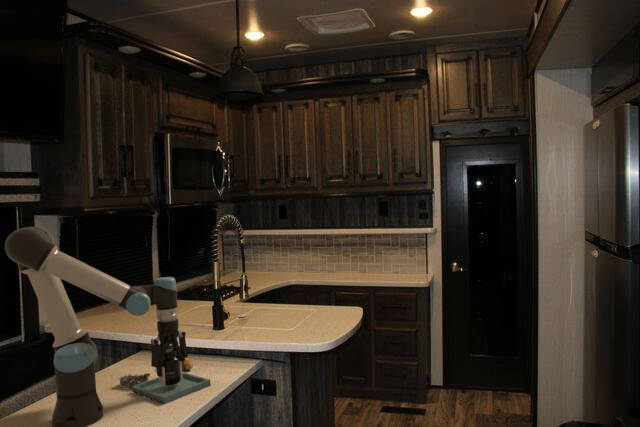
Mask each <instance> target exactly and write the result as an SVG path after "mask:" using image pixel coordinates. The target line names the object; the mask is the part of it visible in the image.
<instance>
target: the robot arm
mask: <svg viewBox="0 0 640 427" xmlns="http://www.w3.org/2000/svg"><path fill="white" fill-rule="evenodd" d="M4 243H5V244H4V250H5V253H6V255H7V257H8V258H9V259H10V260H12V262H14V263H16V264H17V266H18V269H19V271H20V273H22V274H25V275H27V276H28V279H29V282H30V283H31V286H32V288H33V291H34V293H35V295H36V298H37V300H38V302H39V304H40V306H41V309H42V312H43V314H44V316H45V318H46V321H47V324H48V325H49V328H50V330H51V333H52V335H53V337H54V342H53V344H52V348H53V350H54V356H53V367H54V377H55V379H54V380H55V393H56V401H55V402H56V403H55V404H54V409H53V412H52V416H51V426H52V427H86V426H90V425H92V424H95V423H96V422H98V421H100V420H101V419H102V418H103V417H104V415H105V413H104V407H103V404H102V401H101V399H100V397H99V396H98V393H97V382H96V364H97V361H98V356H99V354H98V353H99V352H98V348H97V345H96V344H95V342H94V341H93V340H92V339H91V336H90V334H89V331H88V330H87V329H85V328H82V327H81V325H80V323H79V320H78V317H77V315H76V313H75V311H74V308H73V305H72V303H71V300H70V299H69V298H70V297H69V296H68V294H67V291H66V289H65V287H64V284H63V282H62V281H65V282H67V283H69V284H71V285H73V286H75V287H78V288H80V289H82V290H84V291H86V292H88V293H90V294H93V295H94V296H97V297H98V298H101V299H103V300H105V301H108V302H110V303H112V304H114V305H116V306H118V307H120V308H122V309H123V310H126V311H127V312H128V313H129V314H130V315H132V316H136V317H139V316H143V315H145V314H147V313H148V311H149V310H150V307H151V306H155V309H156V310H155V312H156V314H155V315H156V320H157V322H156V328H157V332H158V334H157V337H155V338H154V339H153V338H151V339H150V343H151V344H150V345H151V361H150V362H151V363H150V364H151V367H153V368H156V376H157V377H159V384H161V385H165V367H162V366H163V362H164V357H165V353H166V349H169V348H168V347H169V346H170V345H171V346H172V349H176V350H177V355H176V356H178V357H179V359H180V379H183V374H182V372H183V370H182V369H183V367H184V366H183V361H185V358H187V357H189V356H188V354H189V353H188V350H187V349H188V348H187V343H186V342H187V341H186V335H187V334H186V331H181V330H180V331H179V329H180V328H179V319H178V317H179V312H178V289H177V282H176V279H175V278H174V277H173V276H165V277H164V276H163V277H157V278H155V279H154V283H152V284H145V285H133V286H132V285H129V284H127V283H126V282H123V281H121V280H119V279H117V278H116V277H113V276H111V275H109V274H107V273H105V272H103V271H101V270H99V269H97V268H95V267H93V266H90V265H89V264H88V263H86V262H83V261H81V260H79V259H77V258H75V257H73V256H70V255H68V254H67V253H64V252H63V251H60V250H59V249H58V246H57V245H55V244H54V243H53V240H52V237H51V236H50V234H49V233H48V232H47V231H46V230H45V229H42V228H41V227H38V226H27V227H22V228H19V229H16V230H14V231H13V232H11V233H10V234H9V235H8V236H7V238H6V240H5V242H4Z"/></svg>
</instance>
